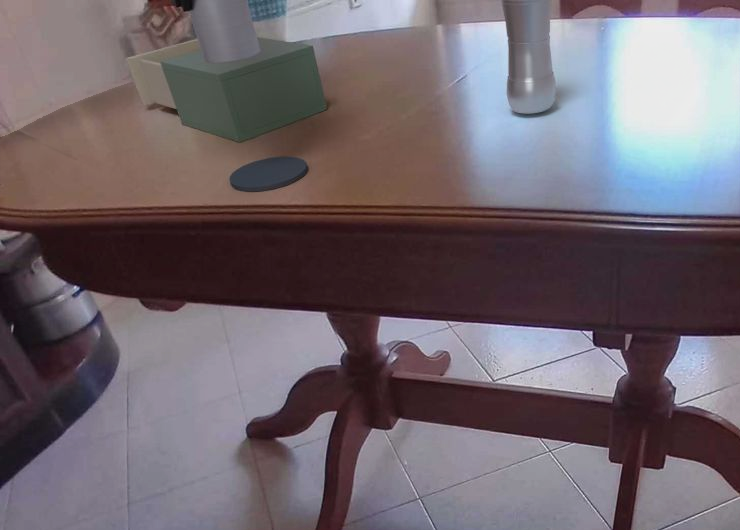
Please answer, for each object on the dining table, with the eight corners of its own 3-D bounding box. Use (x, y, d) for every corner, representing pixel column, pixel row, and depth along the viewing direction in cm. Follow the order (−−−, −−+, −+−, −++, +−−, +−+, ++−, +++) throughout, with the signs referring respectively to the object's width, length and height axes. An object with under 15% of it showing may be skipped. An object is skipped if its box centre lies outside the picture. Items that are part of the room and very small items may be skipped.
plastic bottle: (499, 118, 91) (485, -58, 79) (520, 101, 96) (509, -67, 84) (545, 121, 89) (537, -60, 77) (564, 103, 94) (559, -69, 82)
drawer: (130, 100, 112) (113, 55, 108) (206, 77, 120) (192, 34, 116) (188, 118, 101) (170, 68, 97) (267, 91, 109) (254, 44, 105)
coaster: (258, 198, 77) (256, 193, 77) (216, 181, 83) (214, 176, 82) (323, 169, 83) (321, 164, 82) (279, 156, 88) (278, 151, 87)
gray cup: (222, 65, 72) (188, -45, 66) (193, 59, 76) (159, -46, 70) (271, 51, 76) (243, -55, 70) (241, 46, 79) (212, -56, 73)
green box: (181, 124, 103) (159, 61, 97) (267, 95, 111) (250, 36, 106) (239, 142, 93) (218, 74, 88) (327, 109, 102) (312, 45, 96)
